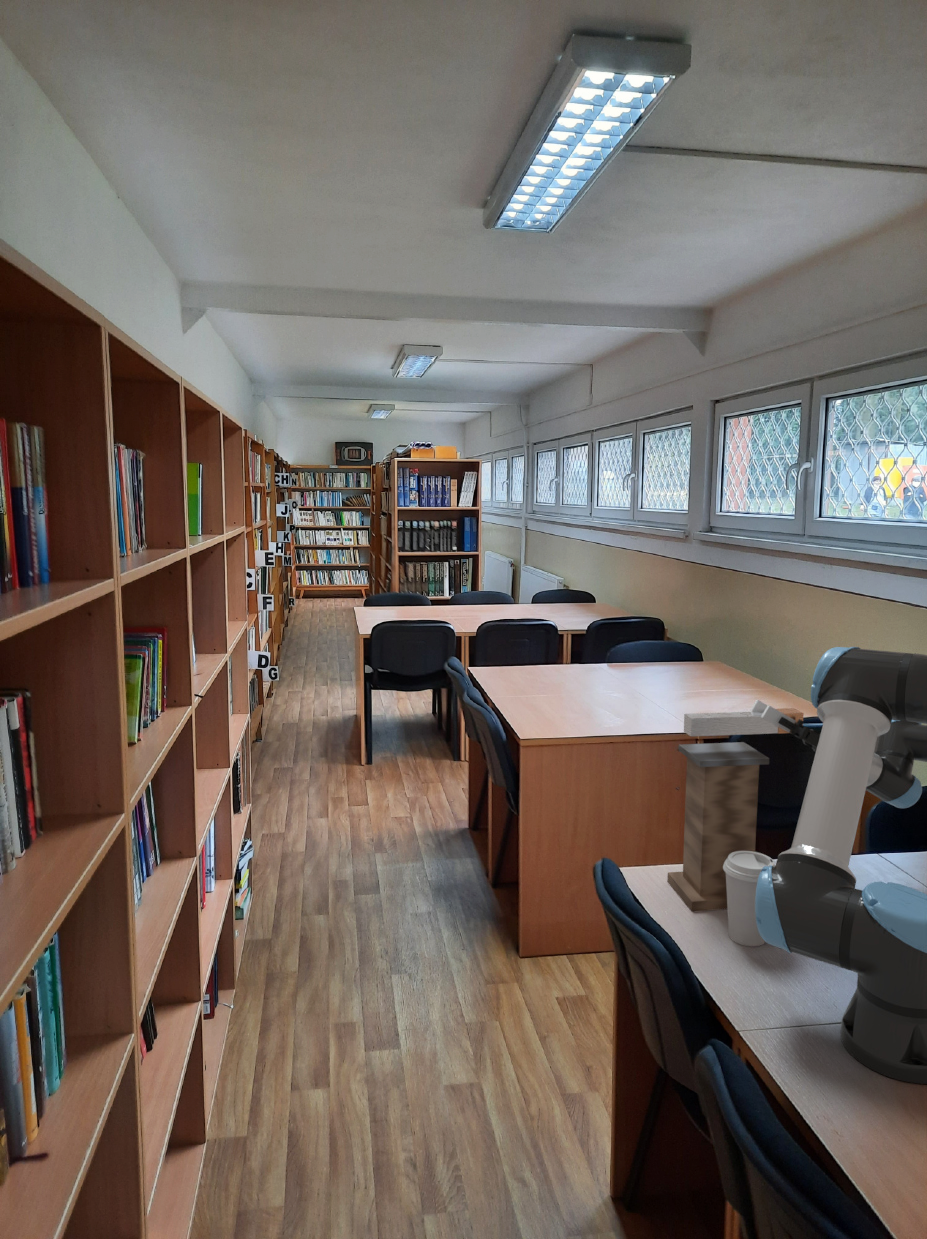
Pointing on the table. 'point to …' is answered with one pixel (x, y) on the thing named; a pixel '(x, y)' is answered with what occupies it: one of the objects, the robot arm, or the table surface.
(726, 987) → the table surface
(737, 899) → the coffee cup
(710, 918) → the table surface
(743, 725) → the wood grain block
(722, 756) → the post
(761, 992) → the table surface
